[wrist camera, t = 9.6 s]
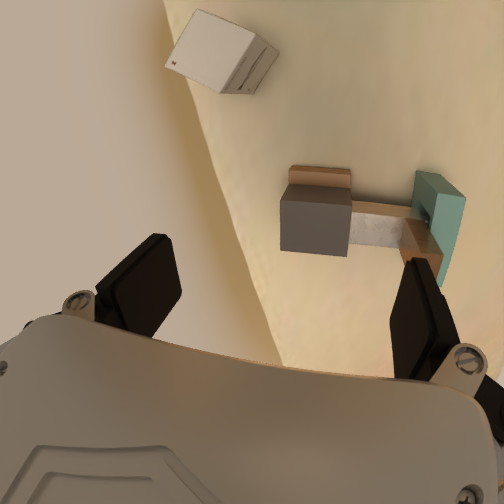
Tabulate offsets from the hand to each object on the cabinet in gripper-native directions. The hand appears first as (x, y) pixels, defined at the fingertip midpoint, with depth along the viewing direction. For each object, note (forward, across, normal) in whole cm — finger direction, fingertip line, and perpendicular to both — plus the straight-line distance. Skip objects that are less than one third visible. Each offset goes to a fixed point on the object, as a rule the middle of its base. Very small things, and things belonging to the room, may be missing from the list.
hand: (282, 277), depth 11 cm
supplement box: (+31, +10, -12) cm, 34 cm away
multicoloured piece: (+26, -9, +8) cm, 29 cm away
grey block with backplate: (+30, 0, +8) cm, 31 cm away
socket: (+30, -15, +8) cm, 35 cm away
